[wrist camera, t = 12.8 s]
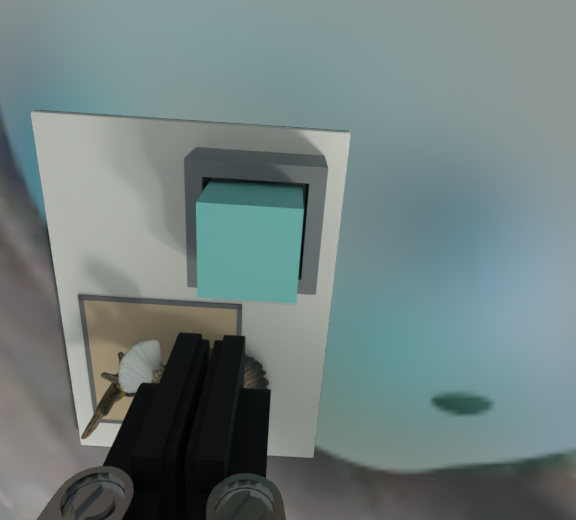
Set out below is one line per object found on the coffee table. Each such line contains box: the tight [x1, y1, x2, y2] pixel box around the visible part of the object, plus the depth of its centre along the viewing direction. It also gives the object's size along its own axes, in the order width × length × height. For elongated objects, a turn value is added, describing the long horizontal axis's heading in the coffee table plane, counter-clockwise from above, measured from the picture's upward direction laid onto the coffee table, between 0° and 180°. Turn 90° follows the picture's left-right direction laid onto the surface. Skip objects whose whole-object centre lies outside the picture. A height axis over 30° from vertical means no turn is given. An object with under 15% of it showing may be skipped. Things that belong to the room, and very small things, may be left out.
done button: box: [196, 180, 304, 303], centre depth 22 cm, size 4×4×4 cm
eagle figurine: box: [81, 340, 269, 439], centre depth 27 cm, size 8×7×9 cm
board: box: [30, 110, 351, 458], centre depth 27 cm, size 16×22×4 cm
